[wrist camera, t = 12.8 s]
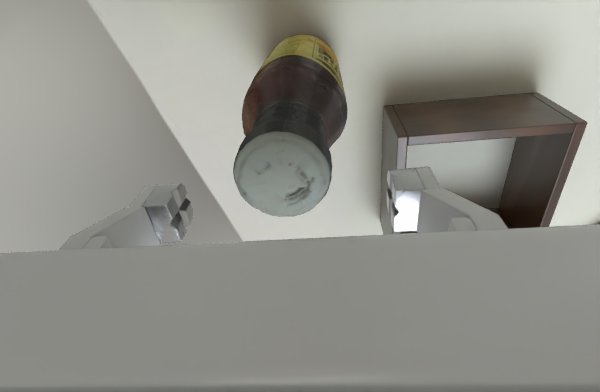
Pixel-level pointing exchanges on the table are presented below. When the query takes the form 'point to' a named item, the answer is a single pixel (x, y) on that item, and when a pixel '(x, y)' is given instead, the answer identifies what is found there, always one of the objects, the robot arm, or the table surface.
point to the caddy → (492, 125)
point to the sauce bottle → (291, 128)
